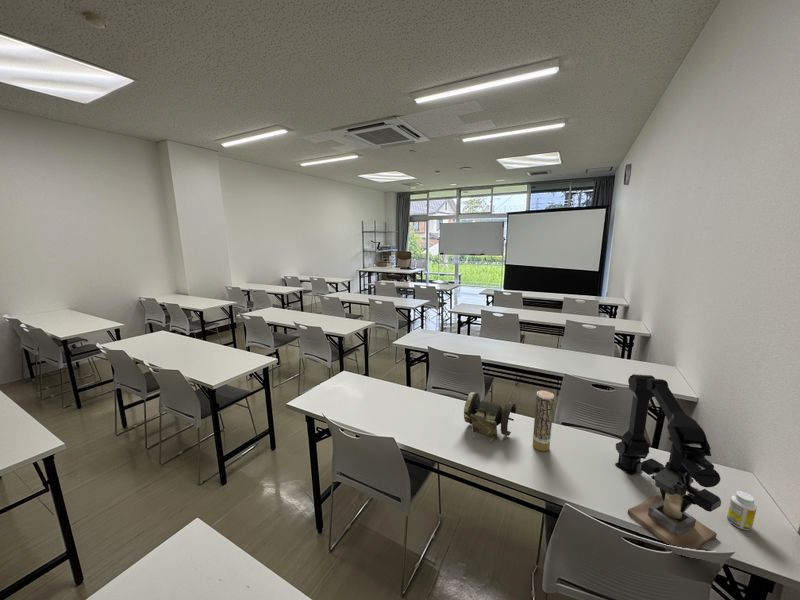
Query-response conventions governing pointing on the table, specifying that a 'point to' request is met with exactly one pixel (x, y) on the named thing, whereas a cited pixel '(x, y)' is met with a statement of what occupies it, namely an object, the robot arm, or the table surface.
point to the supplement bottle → (742, 510)
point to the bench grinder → (487, 416)
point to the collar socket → (671, 525)
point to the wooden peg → (673, 505)
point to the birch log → (543, 420)
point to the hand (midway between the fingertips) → (673, 506)
